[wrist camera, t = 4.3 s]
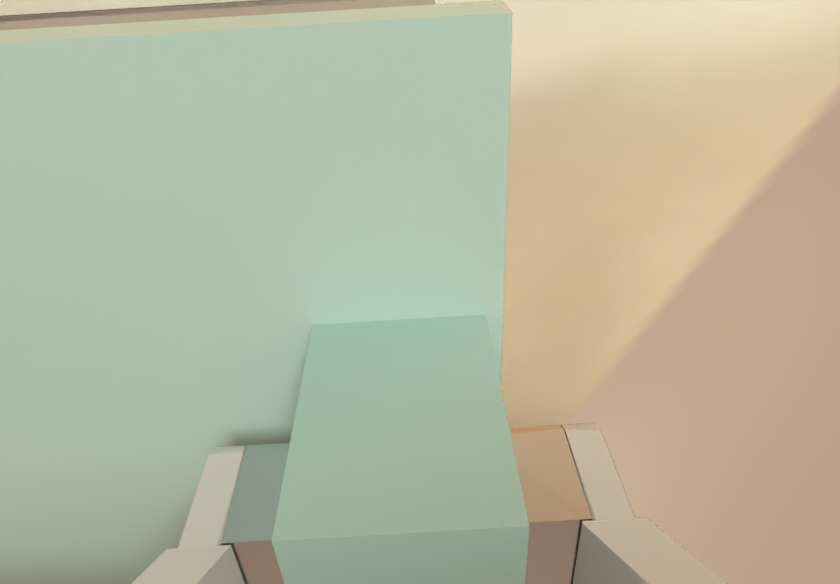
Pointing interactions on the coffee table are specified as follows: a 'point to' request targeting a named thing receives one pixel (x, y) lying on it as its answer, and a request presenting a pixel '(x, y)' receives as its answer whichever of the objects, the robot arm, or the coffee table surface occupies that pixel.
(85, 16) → the tub
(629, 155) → the coffee table surface
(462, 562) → the lid
